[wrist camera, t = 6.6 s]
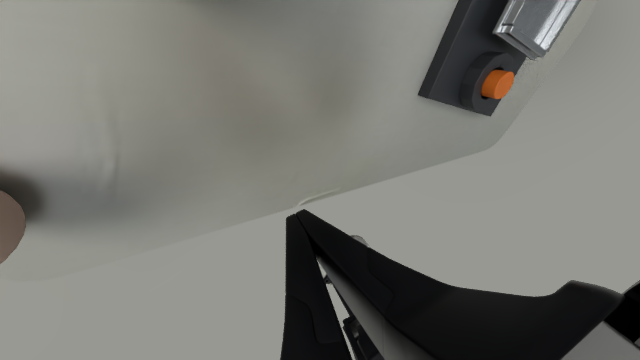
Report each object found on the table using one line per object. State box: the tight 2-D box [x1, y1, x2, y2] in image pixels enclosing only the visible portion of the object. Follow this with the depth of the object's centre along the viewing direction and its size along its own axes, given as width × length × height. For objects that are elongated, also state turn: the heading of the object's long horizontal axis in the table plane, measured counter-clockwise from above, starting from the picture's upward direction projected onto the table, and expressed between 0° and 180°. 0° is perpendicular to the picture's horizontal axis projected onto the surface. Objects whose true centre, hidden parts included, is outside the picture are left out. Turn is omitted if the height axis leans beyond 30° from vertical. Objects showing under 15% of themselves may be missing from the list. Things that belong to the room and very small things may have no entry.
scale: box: [418, 0, 526, 116], centre depth 22 cm, size 15×13×3 cm
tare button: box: [481, 70, 514, 99], centre depth 23 cm, size 3×3×2 cm
